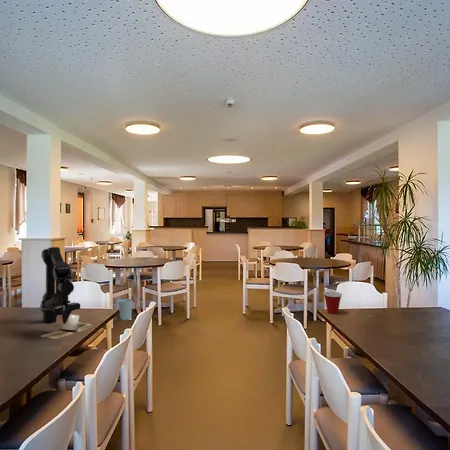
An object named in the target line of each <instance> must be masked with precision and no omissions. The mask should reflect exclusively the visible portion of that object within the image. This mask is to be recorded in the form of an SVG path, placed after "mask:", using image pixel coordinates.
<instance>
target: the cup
mask: <svg viewBox="0 0 450 450" xmlns="http://www.w3.org/2000/svg"><path fill="white" fill-rule="evenodd" d="M133 302H134V301H133V299H131V298H124V299H119V300H118V309H119V317H120V320H122V321H127V320H131V318H132V309H133Z"/></svg>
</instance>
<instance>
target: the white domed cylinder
mask: <svg viewBox="0 0 450 450" xmlns="http://www.w3.org/2000/svg"><path fill="white" fill-rule="evenodd" d="M56 319H57V320H56V321H55V324H59V325H61V329H62V330H63V329H64V330H68V331H69V330H70V331H77V329H78V326H77V325H78V322H79V319H80V315H78V314H72V313H71V314H70V315H69V317H68V319H67V322H66V323H65V324H64V323H63V315H57V317H56Z"/></svg>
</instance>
